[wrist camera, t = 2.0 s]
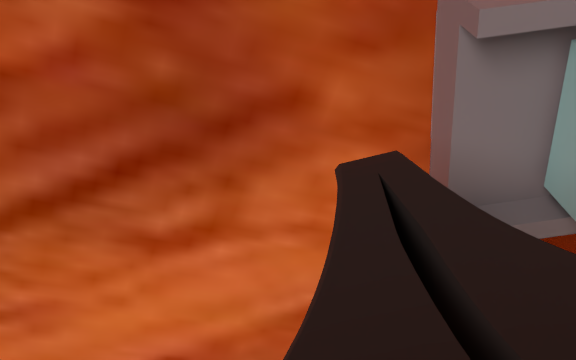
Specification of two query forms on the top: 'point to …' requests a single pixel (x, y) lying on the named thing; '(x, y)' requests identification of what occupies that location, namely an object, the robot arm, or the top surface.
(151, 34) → the top surface
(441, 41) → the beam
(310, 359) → the robot arm
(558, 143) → the rider
